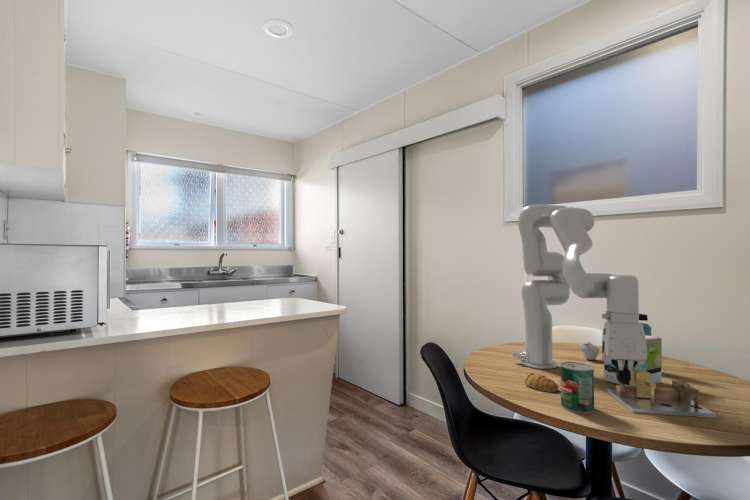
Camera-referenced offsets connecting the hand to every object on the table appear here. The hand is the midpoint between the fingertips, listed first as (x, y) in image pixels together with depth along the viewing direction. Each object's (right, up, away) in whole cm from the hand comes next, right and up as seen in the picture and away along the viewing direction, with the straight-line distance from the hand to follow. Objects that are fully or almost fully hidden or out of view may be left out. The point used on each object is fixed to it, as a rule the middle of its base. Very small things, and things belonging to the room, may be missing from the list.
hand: (623, 383), depth 104 cm
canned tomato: (-17, -4, -6) cm, 18 cm away
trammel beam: (+7, -3, -3) cm, 8 cm away
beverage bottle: (+25, -6, +28) cm, 38 cm away
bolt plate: (+6, -4, -4) cm, 9 cm away
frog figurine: (+14, -6, +41) cm, 44 cm away
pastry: (-19, -5, +9) cm, 22 cm away
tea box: (+13, -5, +15) cm, 21 cm away
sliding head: (+4, -3, -3) cm, 6 cm away
